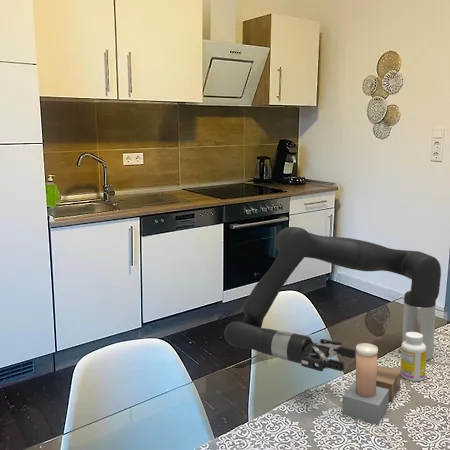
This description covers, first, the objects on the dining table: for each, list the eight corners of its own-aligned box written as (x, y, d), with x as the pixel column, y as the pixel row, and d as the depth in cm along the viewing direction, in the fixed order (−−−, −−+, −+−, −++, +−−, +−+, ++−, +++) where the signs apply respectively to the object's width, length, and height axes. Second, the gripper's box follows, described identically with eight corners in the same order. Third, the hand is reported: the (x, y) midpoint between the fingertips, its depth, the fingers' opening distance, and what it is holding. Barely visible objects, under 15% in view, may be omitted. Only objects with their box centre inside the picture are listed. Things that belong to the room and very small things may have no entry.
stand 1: (354, 398, 127) (354, 380, 126) (388, 407, 122) (389, 389, 121) (342, 414, 119) (342, 395, 118) (378, 424, 114) (379, 405, 114)
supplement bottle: (421, 371, 141) (422, 330, 139) (428, 382, 134) (430, 339, 132) (397, 371, 141) (399, 330, 139) (403, 381, 135) (405, 339, 133)
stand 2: (367, 379, 137) (368, 363, 136) (400, 387, 132) (400, 370, 131) (357, 393, 129) (358, 376, 128) (391, 402, 124) (392, 384, 123)
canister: (358, 385, 123) (359, 341, 122) (379, 390, 120) (380, 345, 119) (352, 394, 119) (353, 348, 117) (372, 399, 116) (374, 353, 114)
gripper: (279, 343, 123) (340, 357, 114) (302, 325, 135) (358, 337, 126) (279, 370, 124) (339, 385, 116) (302, 350, 136) (358, 363, 127)
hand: (349, 360), depth 121 cm, fingers open, 8 cm apart
